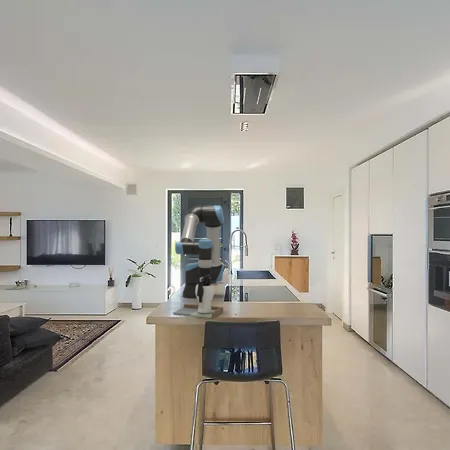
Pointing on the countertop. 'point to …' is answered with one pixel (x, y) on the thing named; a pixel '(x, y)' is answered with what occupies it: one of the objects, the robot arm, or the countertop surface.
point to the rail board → (193, 311)
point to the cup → (206, 298)
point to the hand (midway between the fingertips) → (204, 306)
